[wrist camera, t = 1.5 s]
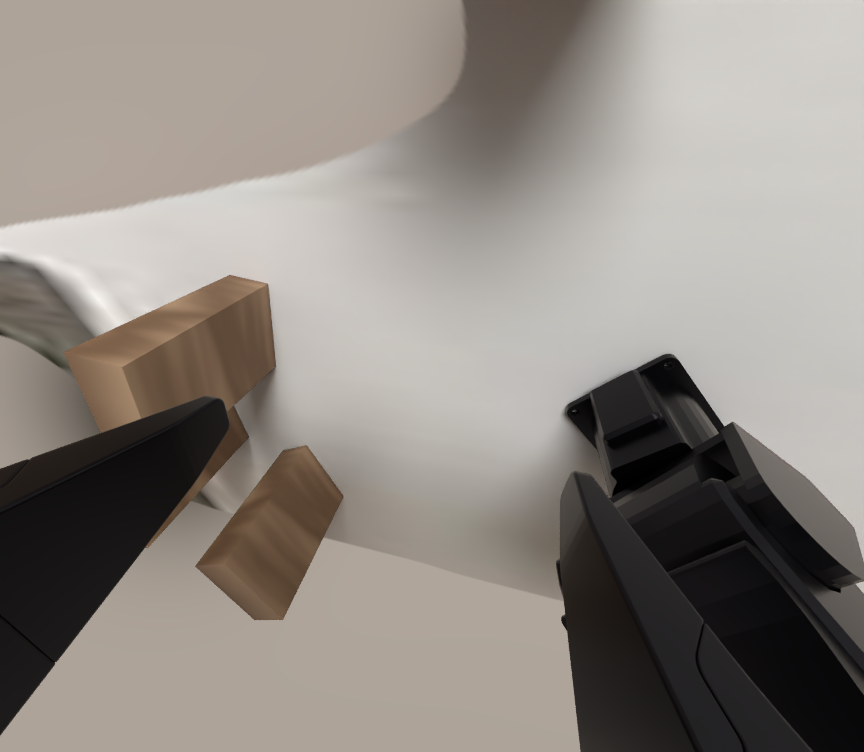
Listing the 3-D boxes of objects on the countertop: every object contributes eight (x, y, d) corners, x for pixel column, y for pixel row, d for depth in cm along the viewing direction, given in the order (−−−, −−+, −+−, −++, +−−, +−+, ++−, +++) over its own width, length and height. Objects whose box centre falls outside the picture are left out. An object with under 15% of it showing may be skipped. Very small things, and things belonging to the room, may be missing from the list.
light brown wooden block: (218, 374, 27) (87, 476, 19) (248, 436, 30) (148, 548, 22) (187, 374, 28) (48, 473, 20) (220, 435, 31) (112, 543, 23)
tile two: (306, 445, 29) (224, 564, 21) (343, 496, 32) (282, 619, 24) (281, 450, 30) (192, 566, 22) (318, 499, 33) (252, 619, 25)
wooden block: (268, 283, 22) (121, 367, 14) (275, 366, 26) (161, 472, 17) (226, 274, 23) (58, 351, 14) (239, 357, 26) (109, 458, 18)
